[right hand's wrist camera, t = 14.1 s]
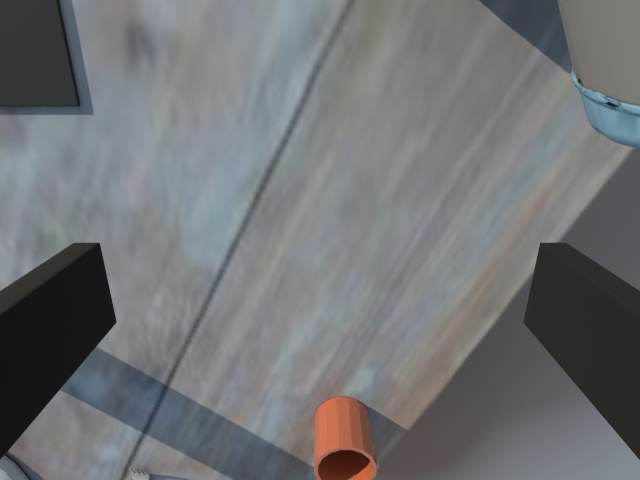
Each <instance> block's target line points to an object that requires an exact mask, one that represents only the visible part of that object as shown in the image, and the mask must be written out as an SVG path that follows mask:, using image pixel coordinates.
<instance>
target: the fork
mask: <svg viewBox="0 0 640 480" xmlns="http://www.w3.org/2000/svg"><path fill="white" fill-rule="evenodd" d="M129 470H130V471H131V472H132V477H133V479H134V480H149V479H150V475H149V473H148V472H146V471H145V473H146V474H145V473H143V472H142V471H140V472H141V473H139V472H138V471H137V470H135V472H134V471H133V470H132V469H129Z"/></svg>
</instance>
